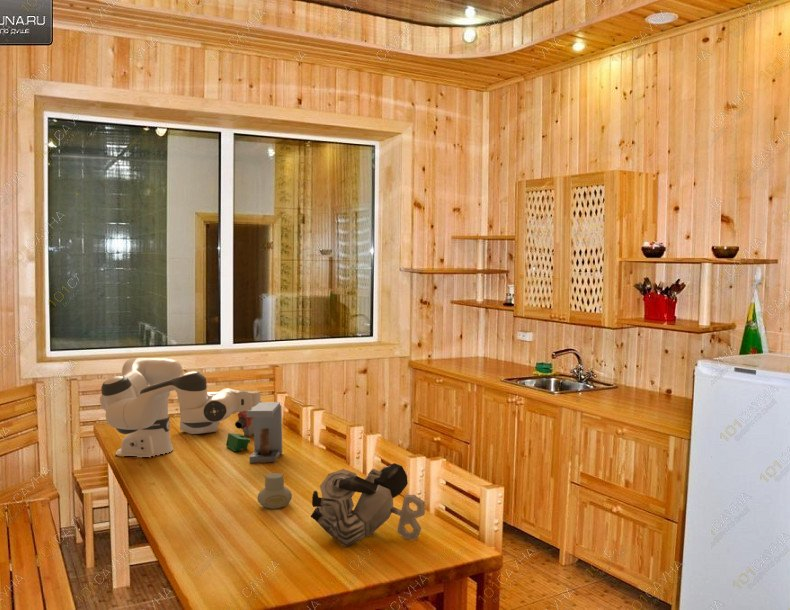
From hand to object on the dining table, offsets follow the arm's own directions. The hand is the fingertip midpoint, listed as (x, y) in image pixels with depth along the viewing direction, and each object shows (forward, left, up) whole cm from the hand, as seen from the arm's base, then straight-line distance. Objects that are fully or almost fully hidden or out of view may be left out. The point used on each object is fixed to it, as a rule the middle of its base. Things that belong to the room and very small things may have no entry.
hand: (236, 393), depth 270 cm
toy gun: (-9, +58, -30) cm, 66 cm away
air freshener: (+20, -34, -30) cm, 50 cm away
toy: (+51, -58, -30) cm, 83 cm away
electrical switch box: (-32, +67, -30) cm, 80 cm away
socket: (+6, +19, -30) cm, 36 cm away
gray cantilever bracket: (+6, +19, -30) cm, 36 cm away
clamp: (-8, +35, -30) cm, 47 cm away
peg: (+6, +19, -30) cm, 36 cm away
